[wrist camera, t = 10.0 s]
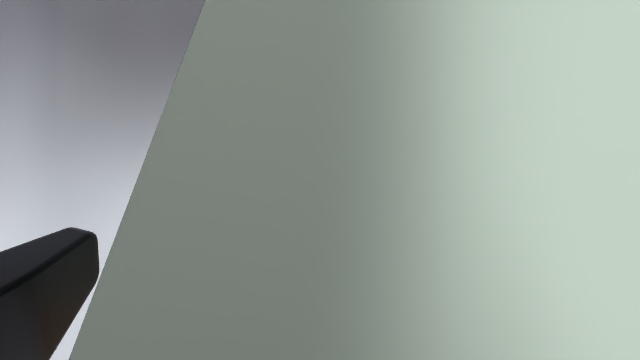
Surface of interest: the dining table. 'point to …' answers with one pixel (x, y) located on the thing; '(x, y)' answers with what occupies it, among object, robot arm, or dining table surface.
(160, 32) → the dining table surface
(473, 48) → the sage block
